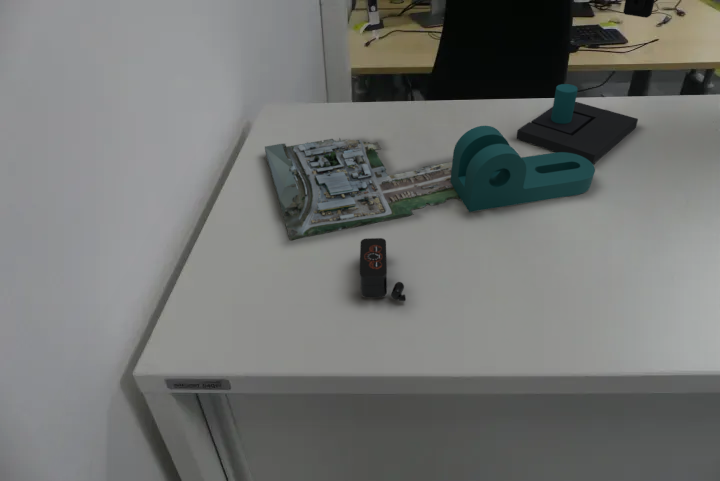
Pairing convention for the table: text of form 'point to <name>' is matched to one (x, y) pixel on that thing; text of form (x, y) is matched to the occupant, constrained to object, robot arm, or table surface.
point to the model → (348, 186)
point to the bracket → (512, 172)
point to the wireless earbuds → (376, 270)
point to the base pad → (582, 133)
